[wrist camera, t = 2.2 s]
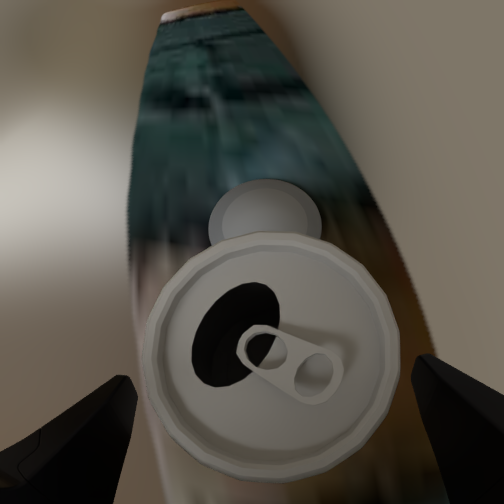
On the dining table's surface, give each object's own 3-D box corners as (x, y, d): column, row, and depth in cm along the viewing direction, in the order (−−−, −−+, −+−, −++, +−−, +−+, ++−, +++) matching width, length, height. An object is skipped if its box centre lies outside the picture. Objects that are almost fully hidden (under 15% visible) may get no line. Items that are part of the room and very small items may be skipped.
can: (253, 292, 19) (222, 167, 8) (355, 346, 17) (461, 282, 6) (192, 389, 17) (69, 385, 6) (296, 448, 15) (324, 546, 4)
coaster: (328, 275, 19) (330, 271, 19) (209, 283, 20) (207, 280, 19) (311, 180, 23) (312, 175, 22) (211, 188, 23) (209, 183, 22)
